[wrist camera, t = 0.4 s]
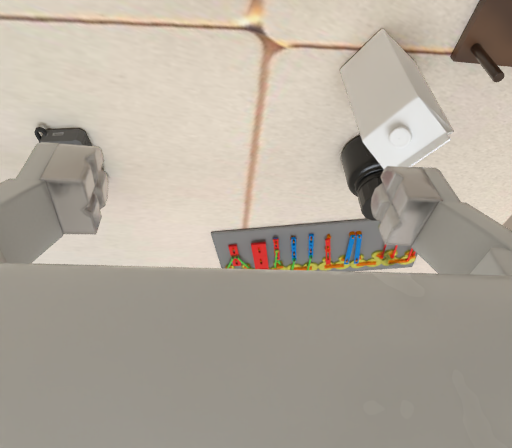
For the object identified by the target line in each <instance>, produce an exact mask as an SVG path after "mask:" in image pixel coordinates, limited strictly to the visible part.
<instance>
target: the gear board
mask: <svg viewBox="0 0 512 448" xmlns="http://www.w3.org/2000/svg"><path fill="white" fill-rule="evenodd" d="M380 224H381V223H380V222H378V221H372V220H370V219H363V220H351V221H339V222H327V223H315V224H303V225H291V226H279V227H267V228H255V229H243V230H231V231H219V232H211V235H212V239H213V242H214V245H215V248H216V251H217V255H218V258H219V261H220V264H221V267H222V268H226V269H269V270H311V271H363V270H376V269H390V268H403V267H412V266H413V263H414V261H415V259H416V256H417V253H416V252H415V251H414V250H413V249H412V248H411V247H412V246H401V245H385V244H384V241H383V239H382V236H381V234H380V232H379V229H378V228H379V226H380Z"/></svg>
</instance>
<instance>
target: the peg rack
mask: <svg viewBox="0 0 512 448" xmlns="http://www.w3.org/2000/svg"><path fill="white" fill-rule="evenodd" d="M451 58H452V60H453V61H455V62H466V63H477V64H481V65H482V67H483V68H484V69H485V71H486V72H487V73H488V75H489V76H490V77H491V79H492V80H493V81H494V82H499V81H501V80H502V79H503V78H504V73H503V72H502V71H501V70H500V68H499V67H498V66H497V65H499V66H510V67H512V0H480V1H479V3H478V5H477V7H476V9H475V11H474V13H473V15H472V17H471V19H470V20H469V22H468V24H467V26H466V28H465V30H464V32H463V34H462V36H461V38H460V40H459V41H458V43H457V45H456V47H455V49H454V51H453V53H452V55H451Z"/></svg>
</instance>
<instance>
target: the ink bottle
mask: <svg viewBox="0 0 512 448" xmlns="http://www.w3.org/2000/svg"><path fill="white" fill-rule="evenodd" d="M341 159H342V165H343V168H344V172H345V176H346V180H347V184H348V187H349V189H350V191H351V192H352V193H353V194H354V195H356V196H357V197H358V200H359V203H360V207H361V211H362V214H363V215H364V216H365V218H368V219H370V220H372V221H377V220H376V219H375V218H374V217H373V214H372V211H371V199H372V195H373V193H374V190H375V188H376V187H378V186H379V185H380V184H382V180H381V177H380V176H381V174H382V172H383V170H384V169H383V168H382V166H381V165H380V164H379V162H378V161H377V160H376V159H375V157H374V156H373V155H372V153H371V152H370V151H369V150H368V148H367V147H366V146H365V144H364V143H363V142H362V139H361V136H359V137H357V138H355V139H353V140H352V141H351V142H349V143H348V144H347V145H346V147H345V148H344V150H343V152H342V157H341Z"/></svg>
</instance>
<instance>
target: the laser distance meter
mask: <svg viewBox="0 0 512 448" xmlns="http://www.w3.org/2000/svg"><path fill="white" fill-rule="evenodd" d="M38 131H39V132H42V133H43V135H42V137H41V136H40V134H39V132H38ZM35 135H36V137H37V139H38V140H39V143H41V142H45V143H59V144H72V145H84V146H92V145H91V143H90V142H89V139H88V137H87V134H86V132H85V131H83V130H81V129H58V130H45V129H44V128H41V127H38V128H36V130H35ZM101 169H102V167H101Z"/></svg>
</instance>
